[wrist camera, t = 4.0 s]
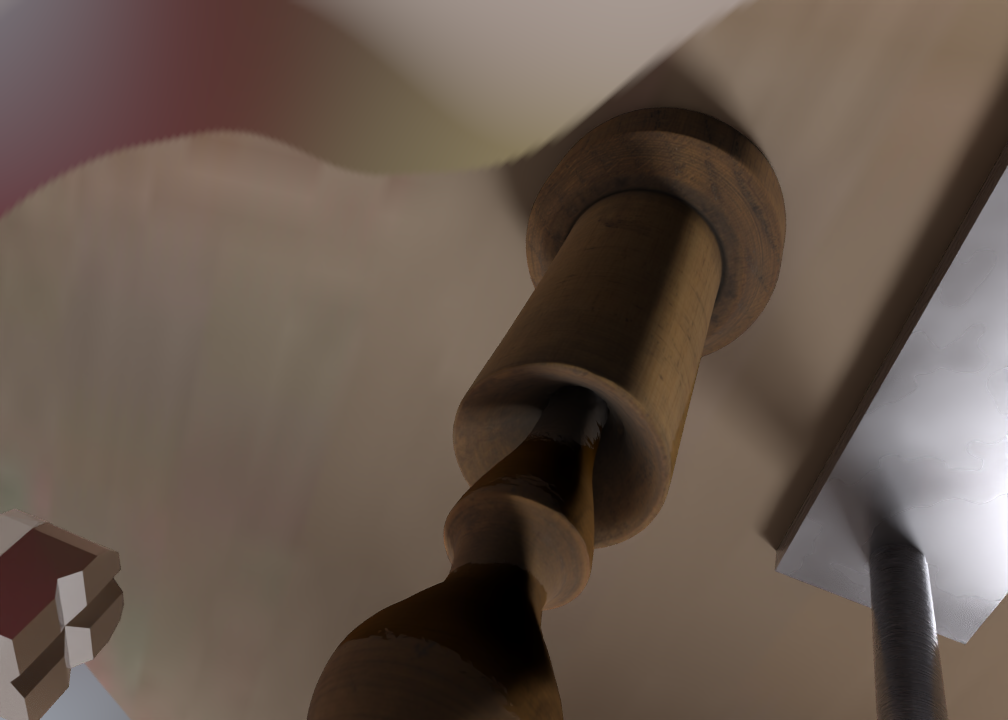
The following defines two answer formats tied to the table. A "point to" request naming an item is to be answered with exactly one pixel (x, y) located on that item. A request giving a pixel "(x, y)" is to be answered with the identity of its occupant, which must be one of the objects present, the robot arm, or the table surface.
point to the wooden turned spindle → (574, 411)
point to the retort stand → (924, 473)
